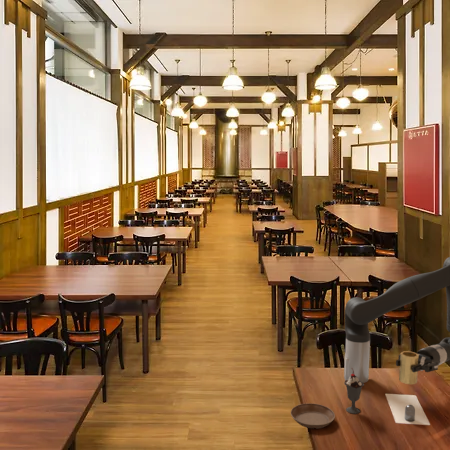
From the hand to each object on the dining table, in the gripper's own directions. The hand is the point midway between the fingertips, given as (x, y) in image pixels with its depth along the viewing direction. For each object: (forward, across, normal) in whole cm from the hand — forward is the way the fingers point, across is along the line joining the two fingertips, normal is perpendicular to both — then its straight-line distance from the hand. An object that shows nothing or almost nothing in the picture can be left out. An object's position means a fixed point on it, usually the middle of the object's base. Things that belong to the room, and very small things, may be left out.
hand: (405, 366), depth 191 cm
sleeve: (-2, 0, +6) cm, 6 cm away
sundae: (+18, -8, +15) cm, 25 cm away
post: (+9, +9, +14) cm, 20 cm away
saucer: (+35, -11, +15) cm, 40 cm away
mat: (+3, +4, +14) cm, 15 cm away
